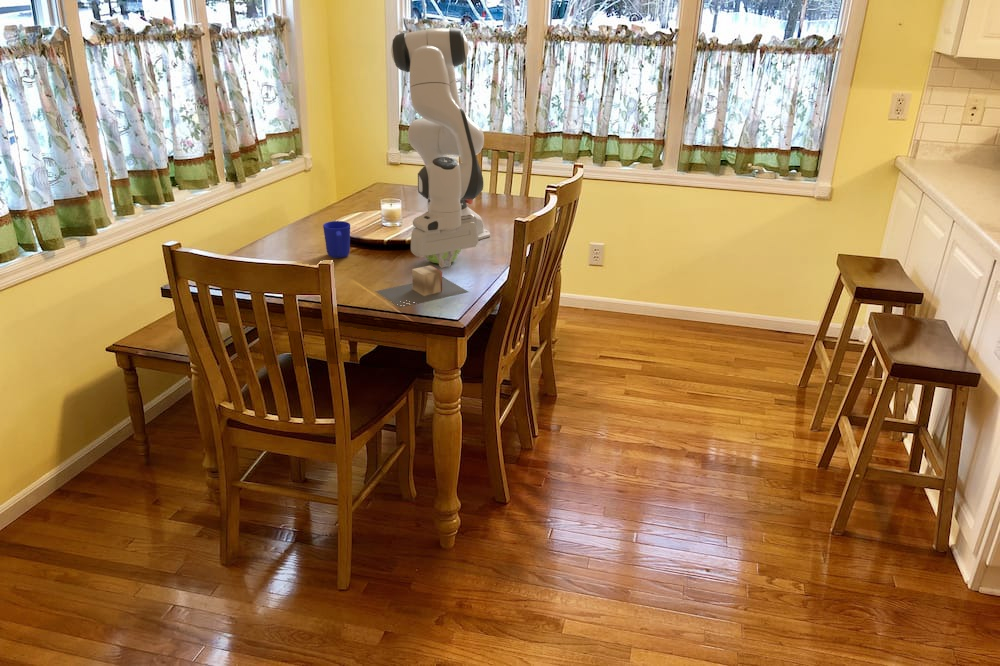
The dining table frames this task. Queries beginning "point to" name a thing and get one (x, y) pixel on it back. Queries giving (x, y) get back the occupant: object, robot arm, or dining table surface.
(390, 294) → the mat
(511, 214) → the dining table surface
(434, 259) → the teapot
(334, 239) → the mug
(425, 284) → the cube
